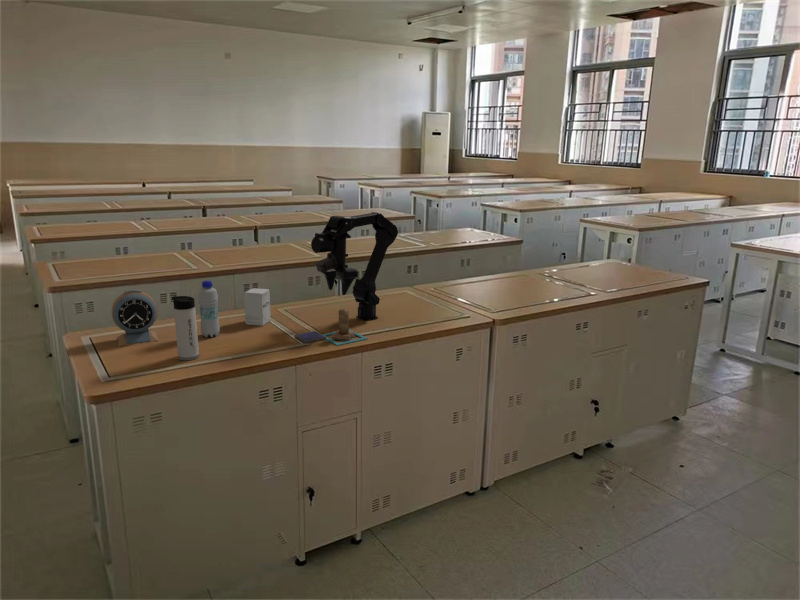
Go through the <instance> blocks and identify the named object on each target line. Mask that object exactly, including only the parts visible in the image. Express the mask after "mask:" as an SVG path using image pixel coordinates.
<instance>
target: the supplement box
mask: <svg viewBox="0 0 800 600" xmlns="http://www.w3.org/2000/svg"><path fill="white" fill-rule="evenodd" d="M270 293H271V292H270V289H268V288H255V287H254V288H250V289H249V290H247V291H245V292H244V293H243V297H244V315H245V316H244V318H245V325H249V326H261V327H264V325H266V324H267V323H269V322H270V321H271V319H272V318H271V294H270Z"/></svg>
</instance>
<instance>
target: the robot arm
mask: <svg viewBox="0 0 800 600" xmlns="http://www.w3.org/2000/svg"><path fill="white" fill-rule="evenodd" d="M369 225H371V226H372V228H373V229H374V231H375V234H374V238H375V245H374V247H373V250H372V253H371V255H370V258H369V260H368V263H367V265H366V269H365V270H364V273H363V276H362V277H361V278H358V277H359V271H358V270H357V269H356V268H353V267H349V265H348V264H347V262H346V261H347V260H346V259H347V258H348V257H349V254H348V253H347V239H351V238H352V236H351V235H350V234H349V233H348V232H350V231H352V230H353V229H354V228H358V227H364V226H369ZM398 235H399V230H398V227H397V225H395V224H394V223H393V222H392V221H390V220H389V219H388V218H386V217H385V216H384V215H383V214H382V213H380V212H374V211H372V212H369V213H363V214H359V215H358V214H357V215H353V216H345V215H344V216H343V215H332V216H330V217H329V219H328V222H327V224H326V225H325V227H324V229H323V230H322V232H321V233H314V237H312V240H311V242H310V246H311V249H312V251H313V253H315V254H319V253H321V254H322V253H327V254H326V257H325V258H322V259H320V260H318V261H317V262H315V266H316V271H317V272H320V273H321V274H322V275H324V277H325V280H326V284H327V286H328V290H329V291H332V290H333V288H334V284H335V282H336V281H335V280H336V276H337V273H338V275H339V276H338V277H337V278H338V279H339V280H340V282H341V293H342V294H341V295H343V296H345V295H346V294H347V292H348V290H349V288H350V287H351V286H352V283H353V282H354V280H355V282H354V285H353V287H352V294H353V297H354V299H355V302H356V303H358V306H357V315H356V318H358V319H360V320H362V321H364V322H367V321H373V320H376V319H379V317H378V316H377V306H378V305H379V304H380V301H381V298H380V297H379V296H378V295H377V293H376V291H377V286H376V285H377V284H376V279H377V277H378V274H379V271H380V269H381V266H382V263H383V261H384V258H385V256H386V253H387V250H388V248H389V247H390V246H391V245H392V244H393V243H394V242H395V241H396V239H397V236H398Z"/></svg>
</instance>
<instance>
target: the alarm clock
mask: <svg viewBox="0 0 800 600" xmlns="http://www.w3.org/2000/svg"><path fill="white" fill-rule="evenodd" d="M158 310H159V309H158V306H157V303H156V301H155V299H154V298H153V297H152V296H150V295H149V294H148V293H146V292H143V291H142V289H140V288H139V289H136V288H132V289H127V290H124V291H123V293H122V294H119V296H118V297H117V298H116V299H115V300H114V301H113V303H112V306H111V318H112V321H113V322H114V324H115V325H116V326H117V327H118V328H119V329H120V330H123V331H124V332H125V333H122V334H120V335H118V336H117V342H118V347H122V346H128V345H129V346H131V345H138V344H137V343H139V344H144V343H143V342H146V343H152V342H151V341H154V342H159V338H158V335H157V332H156V331H153V330H149V329H150V328H151V327H152V326H154V323H155V322H156V320H157V319H158V316H159V314H158V312H159V311H158Z"/></svg>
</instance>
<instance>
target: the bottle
mask: <svg viewBox="0 0 800 600" xmlns="http://www.w3.org/2000/svg"><path fill="white" fill-rule="evenodd" d="M201 285H202V287H201V288H200V289H199V290H198V294H197V295H198V296H197V300H198V304H199V313H200V332H201V335H202V337H205V338H209V336H210V338H213V337H217V336H218V335H219V334H220V331H221V330H220V329H221V327H220V320H219V309H218V308H219V307H218V303H219V295H218V291H217V288H214V287H213V281H211V280H204V281H202V283H201Z"/></svg>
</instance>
